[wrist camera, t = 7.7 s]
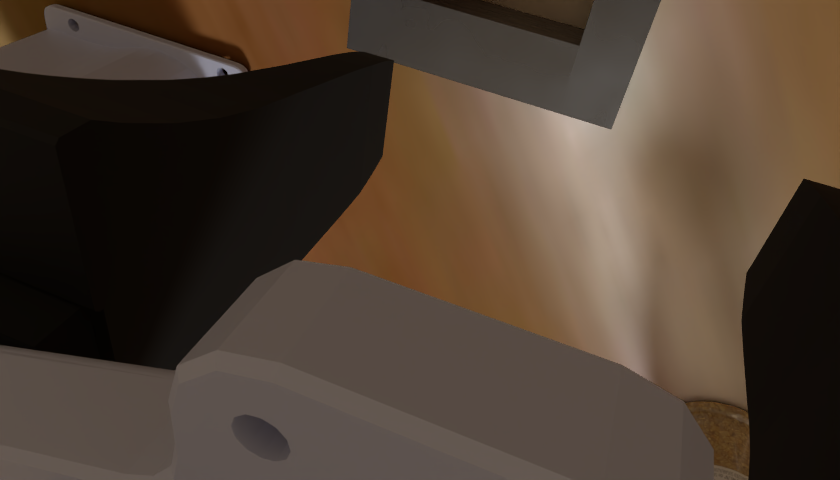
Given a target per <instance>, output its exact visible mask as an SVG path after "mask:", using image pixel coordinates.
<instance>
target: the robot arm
mask: <svg viewBox="0 0 840 480" xmlns="http://www.w3.org/2000/svg"><path fill="white" fill-rule="evenodd" d="M44 16H45V21H46V26H47V30H44V31H42V32H39V33H36V34H34V35H31V36H29V37H26V38H23V39H21V40H18V41H15V42H13V43H10V44H8V45H5V46H2V47H0V480H714V449H713V447H712V446H711V444H710V442H709V441H708V439H707V438H706V436H705V434H704V433H703V431H702V430H701V428H700V426H699V425H698V423H697V422H696V420H695V418H694V417H693V415H692V414H691V412H690V410H689V409H688V407H687V406H686V404H685V402H684V401H682V400H681V399H679V398H677V397H675V396H674V395H672V394H670V393H669V392H667V391H665V390H664V389H662V388H660V387H659V386H657V385H655V384H653V383H652V382H650V381H648V380H647V379H645V378H643V377H642V376H640V375H638V374H637V373H635V372H633V371H631V370H630V369H628V368H626V367H625V366H623V365H621V364H618V363H615V362H612V361H610V360H607V359H604V358H601V357H598V356H596V355H593V354H590V353H587V352H585V351H582V350H579V349H576V348H573V347H571V346H568V345H565V344H562V343H560V342H557V341H554V340H551V339H548V338H546V337H543V336H540V335H537V334H535V333H532V332H529V331H526V330H524V329H521V328H518V327H515V326H512V325H510V324H507V323H504V322H501V321H499V320H496V319H493V318H490V317H487V316H485V315H482V314H479V313H476V312H474V311H471V310H468V309H465V308H462V307H460V306H457V305H454V304H451V303H449V302H446V301H443V300H440V299H437V298H435V297H432V296H429V295H426V294H424V293H421V292H418V291H415V290H412V289H410V288H407V287H404V286H401V285H399V284H396V283H393V282H390V281H387V280H385V279H382V278H379V277H376V276H374V275H371V274H368V273H365V272H363V271H360V270H357V269H354V268H351V267H344V266H337V265H330V264H322V263H315V262H308V261H301V260H302V259H303V258H304V257H305V256H306V255H307V254H308V252H309V251H310V250H311V249H312V248H313V247H314V246H315V244H316V243H317V242H318V241H319V240H320V239H321V238H322V236H323V235H324V234H325V233H326V232H327V231H328V230H329V228H330V227H331V226H332V225H333V224H334V223H335V222H336V220H337V219H338V218H339V217H340V216H341V215H342V213H343V212H344V211H345V210H346V209H347V208H348V206H349V205H350V204H351V203H352V202H353V201H354V199H355V198H356V197H357V196H358V194H359V193H360V192H361V190H362V189H363V187H364V186H365V184H366V183H367V181H368V179H369V178H370V176H371V175H372V173H373V171H374V170H375V168H376V166H377V165H378V163H379V161H380V159H381V158H382V155H383V147H384V138H385V130H386V122H387V114H388V105H389V97H390V89H391V80H392V72H393V64H394V60H391V59H388V58H384V57H381V56H377V55H374V54H370V53H367V52H348V53H342V54H336V55H331V56H326V57H321V58H316V59H311V60H306V61H302V62H297V63H292V64H287V65H282V66H277V67H271V68H266V69H260V70H254V71H247V69H246V68H245V67H244V66H243V65H241V64H240V63H237V62H234V61H231V60H228V59H225V58H222V57H219V56H216V55H213V54H209V53H206V52H203V51H200V50H197V49H194V48H191V47H188V46H185V45H182V44H179V43H176V42H172V41H169V40H166V39H163V38H160V37H157V36H154V35H151V34H148V33H145V32H142V31H139V30H135V29H132V28H129V27H126V26H123V25H120V24H117V23H114V22H111V21H108V20H105V19H102V18H98V17H95V16H92V15H89V14H86V13H83V12H80V11H77V10H74V9H71V8H68V7H65V6H61V5H58V4H52V5H49V6H47V7H45V10H44ZM76 22H77V23H78V25H77V24H76ZM223 69H225V70H226V71H227V73H228V75H225V74H224V73H223ZM742 337H743V352H744V366H745V379H746V392H747V405H748V418H749V438H750V460H749V477H748V480H840V189H838V188H834V187H831V186H827V185H824V184H820V183H817V182H814V181H810V180H807V179H803V181H802V182H801V184H800V186H799V187H798V189H797V191H796V192H795V194H794V196H793V197H792V199H791V201H790V202H789V204H788V206H787V207H786V209H785V211H784V212H783V214H782V216H781V217H780V219H779V220H778V222H777V224H776V225H775V227H774V229H773V230H772V232H771V234H770V235H769V237H768V239H767V240H766V242H765V244H764V245H763V247H762V249H761V250H760V252H759V254H758V255H757V257H756V259H755V260H754V262H753V264H752V265H751V267H750V268H749V270H748V272H747V274H746V283H745V291H744V299H743V310H742Z"/></svg>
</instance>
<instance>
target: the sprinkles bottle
mask: <svg viewBox="0 0 840 480" xmlns="http://www.w3.org/2000/svg"><path fill="white" fill-rule="evenodd" d="M685 404H686V406H687V407H688V409H689V410H690V412H691V414H692V415H693V417H694V418H695V420H696V422H697V423H698V425H699V426H700V428H701V430H702V431H703V433H704V434H705V436H706V438H707V439H708V441H709V442H710V444H711V446H712V447H713V449H714V480H748V477H749V460H750V438H749V418H748V413H747V412H746V411H744V410H742V409H739V408H737V407H734V406H730V405H727V404H721V403H717V402H702V401H695V402H688V403H685Z"/></svg>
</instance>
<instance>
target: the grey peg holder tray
mask: <svg viewBox="0 0 840 480" xmlns="http://www.w3.org/2000/svg"><path fill="white" fill-rule="evenodd" d="M660 1H661V0H594V3H593V6H592V9H591V12H590V15H589V18H588V21H587V24H586V27H585V30H584V29H580V28H577V27H573V26H570V25H566V24H563V23H559V22H556V21H552V20H548V19H545V18H541V17H538V16H534V15H531V14H527V13H524V12H520V11H517V10H513V9H509V8H506V7H502V6H499V5H495V4H492V3H488V2H485V1H481V0H351V9H350V20H349V31H348V43H347V48H349V49H352V50H356V51H359V52H367V53H370V54H374V55H377V56H381V57H384V58H388V59H391V60H394V63H398V64H401V65H404V66H407V67H411V68H414V69H417V70H420V71H424V72H427V73H430V74H433V75H437V76H440V77H443V78H446V79H449V80H453V81H456V82H459V83H462V84H466V85H469V86H472V87H475V88H479V89H482V90H485V91H488V92H492V93H495V94H498V95H501V96H505V97H508V98H511V99H514V100H518V101H521V102H524V103H527V104H530V105H534V106H537V107H540V108H543V109H547V110H550V111H553V112H556V113H560V114H563V115H566V116H569V117H573V118H576V119H579V120H582V121H586V122H589V123H592V124H595V125H598V126H602V127H605V128H608V129H612V126H613V123H614V121H615V118H616V116H617V113H618V110H619V108H620V105H621V103H622V100H623V97H624V95H625V92H626V90H627V87H628V84H629V82H630V79H631V77H632V74H633V72H634V69H635V66H636V64H637V61H638V59H639V56H640V53H641V51H642V48H643V46H644V43H645V40H646V38H647V35H648V33H649V30H650V27H651V25H652V22H653V20H654V17H655V14H656V12H657V9H658V7H659V4H660Z"/></svg>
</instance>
